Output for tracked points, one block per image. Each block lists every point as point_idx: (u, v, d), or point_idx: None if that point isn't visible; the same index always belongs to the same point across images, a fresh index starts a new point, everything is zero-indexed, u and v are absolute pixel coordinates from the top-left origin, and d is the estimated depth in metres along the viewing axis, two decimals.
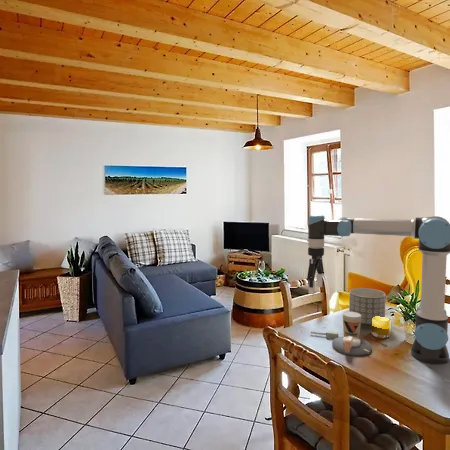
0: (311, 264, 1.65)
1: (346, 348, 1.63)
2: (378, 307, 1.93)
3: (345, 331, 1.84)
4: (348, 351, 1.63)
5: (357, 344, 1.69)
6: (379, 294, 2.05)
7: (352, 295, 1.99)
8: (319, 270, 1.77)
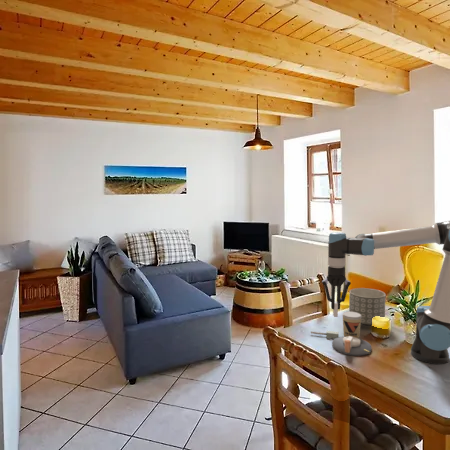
0: (324, 286, 1.64)
1: (346, 348, 1.63)
2: (378, 307, 1.93)
3: (345, 331, 1.84)
4: (348, 351, 1.63)
5: (357, 344, 1.69)
6: (379, 294, 2.05)
7: (352, 295, 1.99)
8: (337, 296, 1.64)
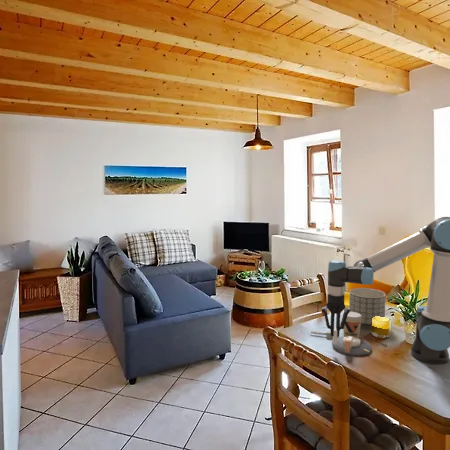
0: (324, 313, 1.66)
1: (346, 348, 1.63)
2: (378, 307, 1.93)
3: (345, 331, 1.84)
4: (348, 351, 1.63)
5: (357, 344, 1.69)
6: (379, 294, 2.05)
7: (352, 295, 1.99)
8: (336, 323, 1.65)
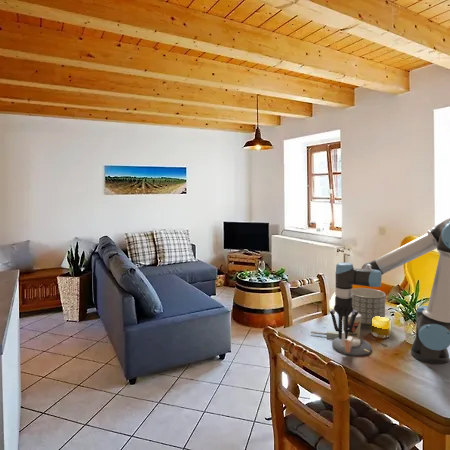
0: None
1: (346, 348, 1.63)
2: (378, 307, 1.93)
3: None
4: (348, 351, 1.63)
5: (357, 344, 1.69)
6: (379, 294, 2.05)
7: (352, 295, 1.99)
8: (344, 326, 1.65)
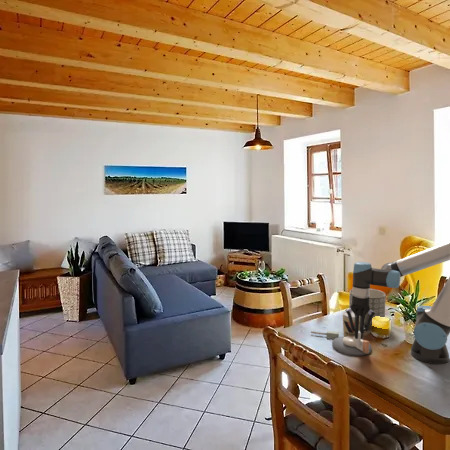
0: (348, 315, 1.64)
1: (367, 349, 1.62)
2: (378, 307, 1.93)
3: (345, 331, 1.84)
4: (368, 351, 1.62)
5: None
6: (379, 294, 2.05)
7: (352, 295, 1.99)
8: (360, 325, 1.64)
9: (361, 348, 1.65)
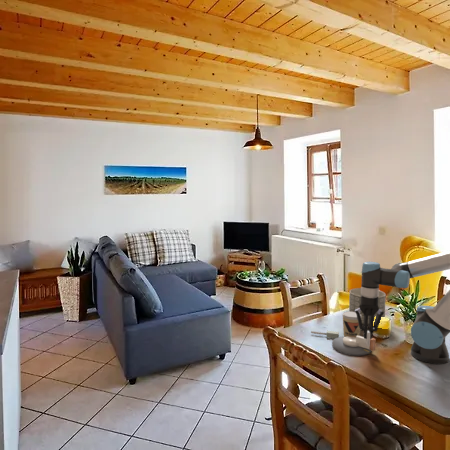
0: (357, 315, 1.64)
1: (374, 346, 1.65)
2: None
3: (345, 331, 1.84)
4: None
5: None
6: (379, 294, 2.05)
7: (352, 295, 1.99)
8: (369, 325, 1.64)
9: (367, 346, 1.66)
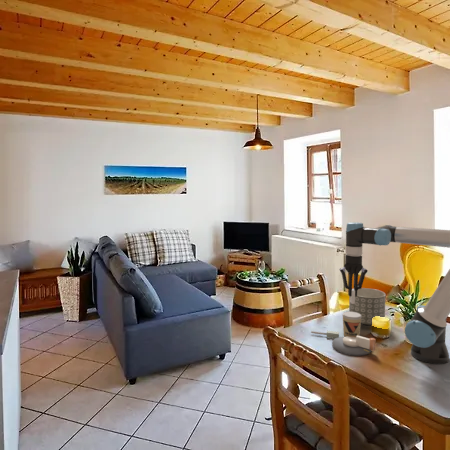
0: (342, 274, 1.71)
1: (374, 346, 1.65)
2: (378, 307, 1.93)
3: (345, 331, 1.84)
4: None
5: None
6: (379, 294, 2.05)
7: None
8: (354, 283, 1.70)
9: (367, 346, 1.66)
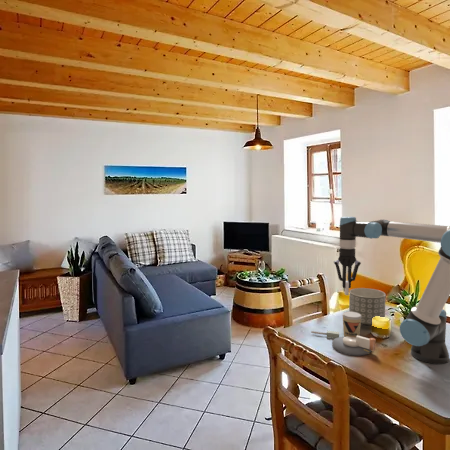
0: (336, 266, 1.77)
1: (374, 346, 1.65)
2: (378, 307, 1.93)
3: (345, 331, 1.84)
4: None
5: None
6: (379, 294, 2.05)
7: (352, 295, 1.99)
8: (348, 275, 1.77)
9: (367, 346, 1.66)
